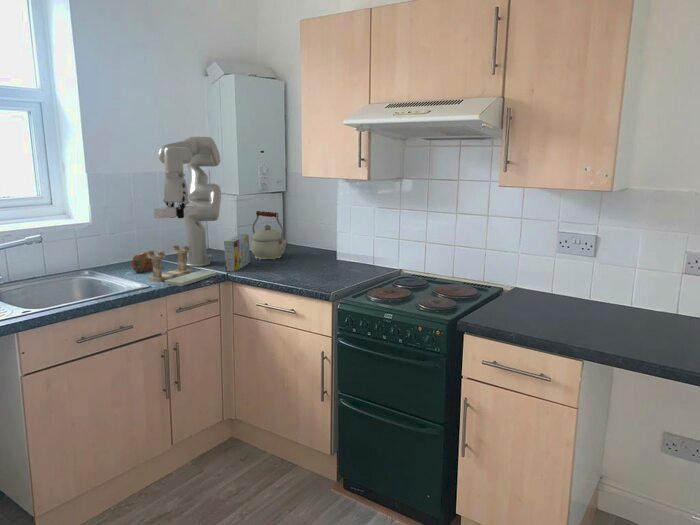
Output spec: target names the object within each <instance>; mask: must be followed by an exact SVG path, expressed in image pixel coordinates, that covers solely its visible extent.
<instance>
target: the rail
mask: <svg viewBox="0 0 700 525" xmlns="http://www.w3.org/2000/svg"><path fill="white" fill-rule="evenodd" d="M177 209H178V205H177V206H174V207H168V206H167V207H158V208H157V207H156V208H153V213H154V214H153V217H154V219H168V218H169V219H170V217H174V218H176V217H177V218H178V212H177ZM193 214H197V205H186V206H185V209H184V216H185V215H193Z"/></svg>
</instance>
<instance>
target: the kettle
mask: <svg viewBox="0 0 700 525" xmlns="http://www.w3.org/2000/svg"><path fill="white" fill-rule="evenodd" d="M255 214H256V219H255V220H254V222H253V223H252V226H251V229H252V230H251V231H252V236H251V239H250V240H251V243H250V251H251V252H252V254H253V255H254V258H255V259H257V258H259V259H258V260H261V259H273V260H276V259H275V258H279V259H281V258H282V254H284V252H285V250H286V245H287V242H288V241H289V240H288V239H286V238H285V237H284V232H285V231H284V227H283V225H282V224H281V222H280V220H279V212H273V211H260V210H256V213H255ZM261 216H262V217H267V218H268V217H269V218H273V217H274V218H275V219H276V220H275V221H276V222H277V224H278V225H279V227H280V230H281V231H279V230H276V229H272V227H271V226H270V225H269V224H266V225H264V227H263V229H260V230H256V231H255V225H256V223H257V222H258V220H259V217H261ZM280 257H281V258H280Z"/></svg>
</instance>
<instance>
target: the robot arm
mask: <svg viewBox="0 0 700 525" xmlns="http://www.w3.org/2000/svg"><path fill="white" fill-rule="evenodd" d="M216 144H217V143H216V142H215V141H214V139H213V138H212V137H210V136H190V137H188V138H187V137H186V139H184V140H181V141H178V142H172V143H167V144H164V145H162V146H161V147H160V149H159V151H158V159H159V161H160V162H161V164H164V170H165V172H164V173H165V179H164V186H163V190H164V192H163V196H164V198H163V203H164V204H165V205H166V206H167V207H174V206H175V203H177V206H178V209H177V212H178V216H177V219H184V225H185V227H184V228H185V240H186V242H185V243H186V246H189V253H186V267H191V268H193V267H194V268H195V267H197V268H198V267H199V268H200V267H206V266H209V265H211V261H210V260H209V259H211V258H213V255H212V254H208V253H207V234H206V228H205V226H204V225H203V223H202V222H215V221H216V222H217V220H218V219H219V216H220V211H221V210H220V209H221V202H222V201H221V200H222V190H221V187H220V186H219V184H217V183H208V182H209V181H208V180H209V177H208V175H207V173H206V172H205V171H204V170H203V169H202V168H201V167H218V166H219V165H220V163H221V155H220V151H219V149H218V146H217V145H216ZM184 165H186V166H187V168H188V171H189V175H190V178H189V179H190V181H189V186H187V180H186V179H185V178H184V177H185V176H186V174H185V173H184ZM188 187H189V188H188ZM186 205H197V214H193V215H185V216H184V209H185V206H186ZM174 218H175V217H169V219H174Z"/></svg>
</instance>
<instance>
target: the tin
mask: <svg viewBox="0 0 700 525" xmlns="http://www.w3.org/2000/svg"><path fill="white" fill-rule="evenodd" d="M131 264H132V269H133V271H134V272H136V273H143V271H144V272H146V271H149V270H151V269H153V264H152V258H148V254H147V251H145V252H142V253H139V254H135V255H134V256H133V257H132V260H131ZM148 269H149V270H148Z"/></svg>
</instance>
